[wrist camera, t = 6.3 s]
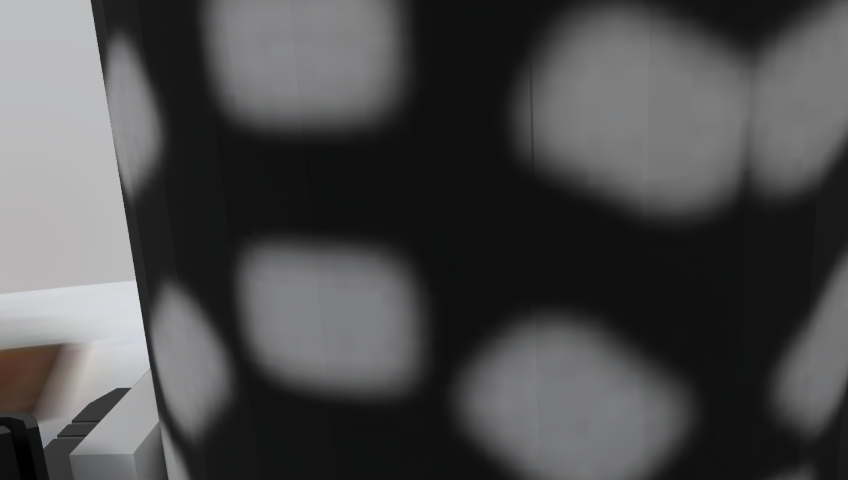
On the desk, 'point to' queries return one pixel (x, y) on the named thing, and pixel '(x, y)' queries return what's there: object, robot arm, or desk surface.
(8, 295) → the desk surface
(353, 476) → the spotted tube
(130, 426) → the robot arm
